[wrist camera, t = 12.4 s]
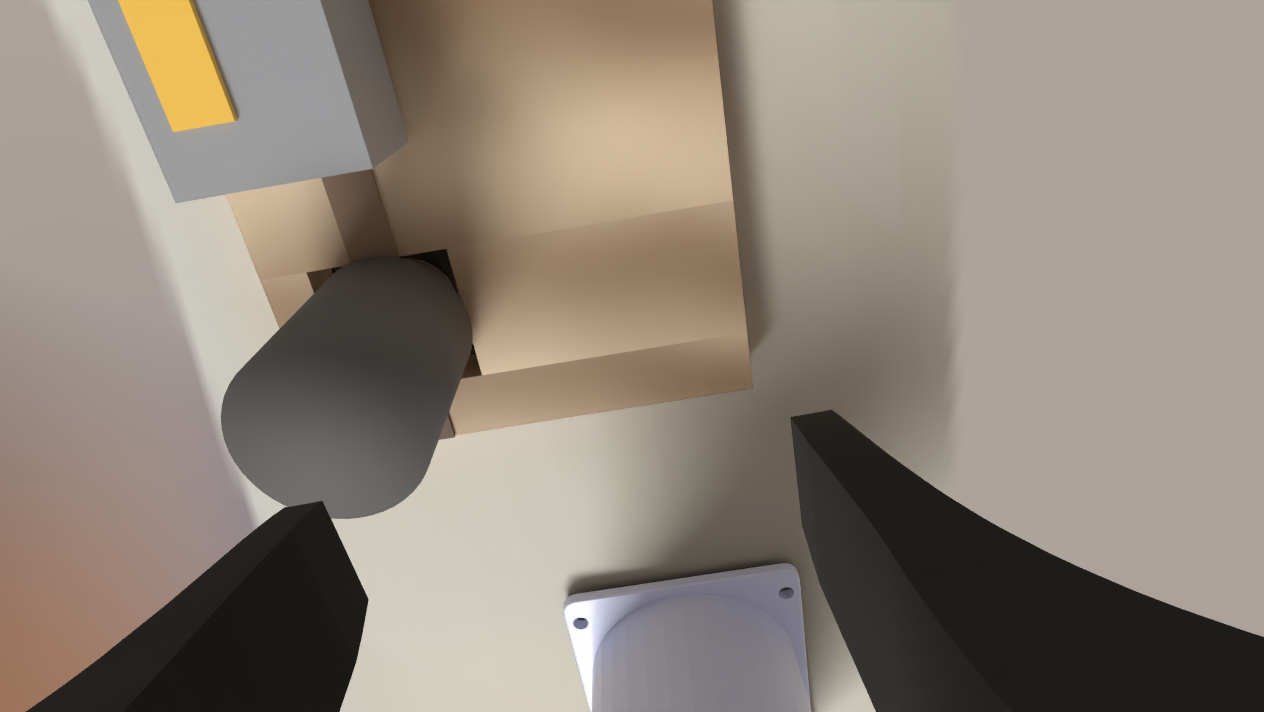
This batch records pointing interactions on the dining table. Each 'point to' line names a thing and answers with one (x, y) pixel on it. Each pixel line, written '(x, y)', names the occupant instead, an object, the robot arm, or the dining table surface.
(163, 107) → the block
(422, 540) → the dining table surface
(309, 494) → the dark grey piece
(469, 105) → the plank
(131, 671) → the robot arm
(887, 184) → the dining table surface
